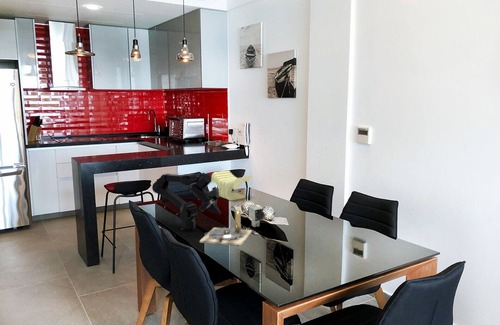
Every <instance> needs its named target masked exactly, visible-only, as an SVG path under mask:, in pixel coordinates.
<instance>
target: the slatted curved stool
mask: <svg viewBox="0 0 500 325" xmlns="http://www.w3.org/2000/svg"><path fill="white" fill-rule="evenodd" d="M211 180H212V181H211V183H215V184H216V185H217V188H218V189H219V194H218V196H219V198H223V199H226V200H228V201H235V200H241V199H245V198H246V197H245V194H242V193H239V192H232V191H233V190H236V189H239V188H240V186H241V184H242V183H245V182H248V181H252V180H253V176H252V175H250V176H243V177H237V176H235V175H234V174H233V173H232V172H231V171H230V170H221V171H220V170H219V171H214V172H213V173H212V174H211Z"/></svg>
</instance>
